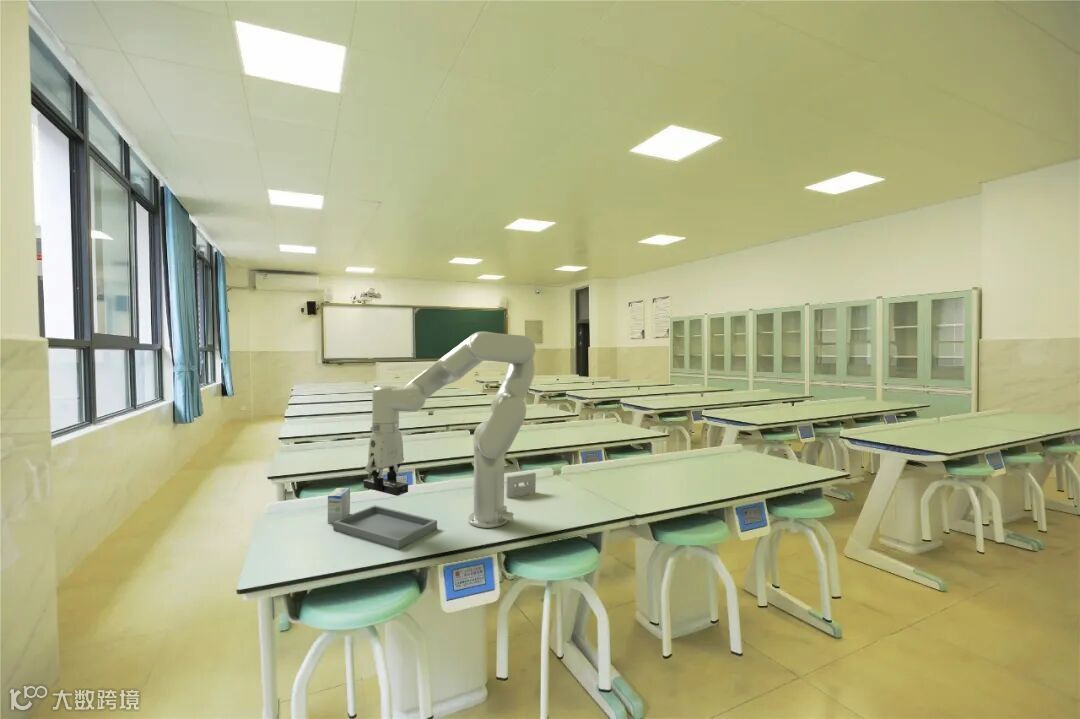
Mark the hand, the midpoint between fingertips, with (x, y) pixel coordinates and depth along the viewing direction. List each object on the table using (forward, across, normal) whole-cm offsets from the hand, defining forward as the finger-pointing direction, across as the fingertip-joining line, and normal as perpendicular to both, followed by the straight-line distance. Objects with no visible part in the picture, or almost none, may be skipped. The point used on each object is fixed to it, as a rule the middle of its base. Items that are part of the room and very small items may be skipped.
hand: (385, 487), depth 140 cm
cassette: (+13, +47, -20) cm, 53 cm away
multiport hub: (+1, 0, 0) cm, 1 cm away
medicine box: (+13, -1, +19) cm, 23 cm away
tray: (+13, 0, 0) cm, 13 cm away
